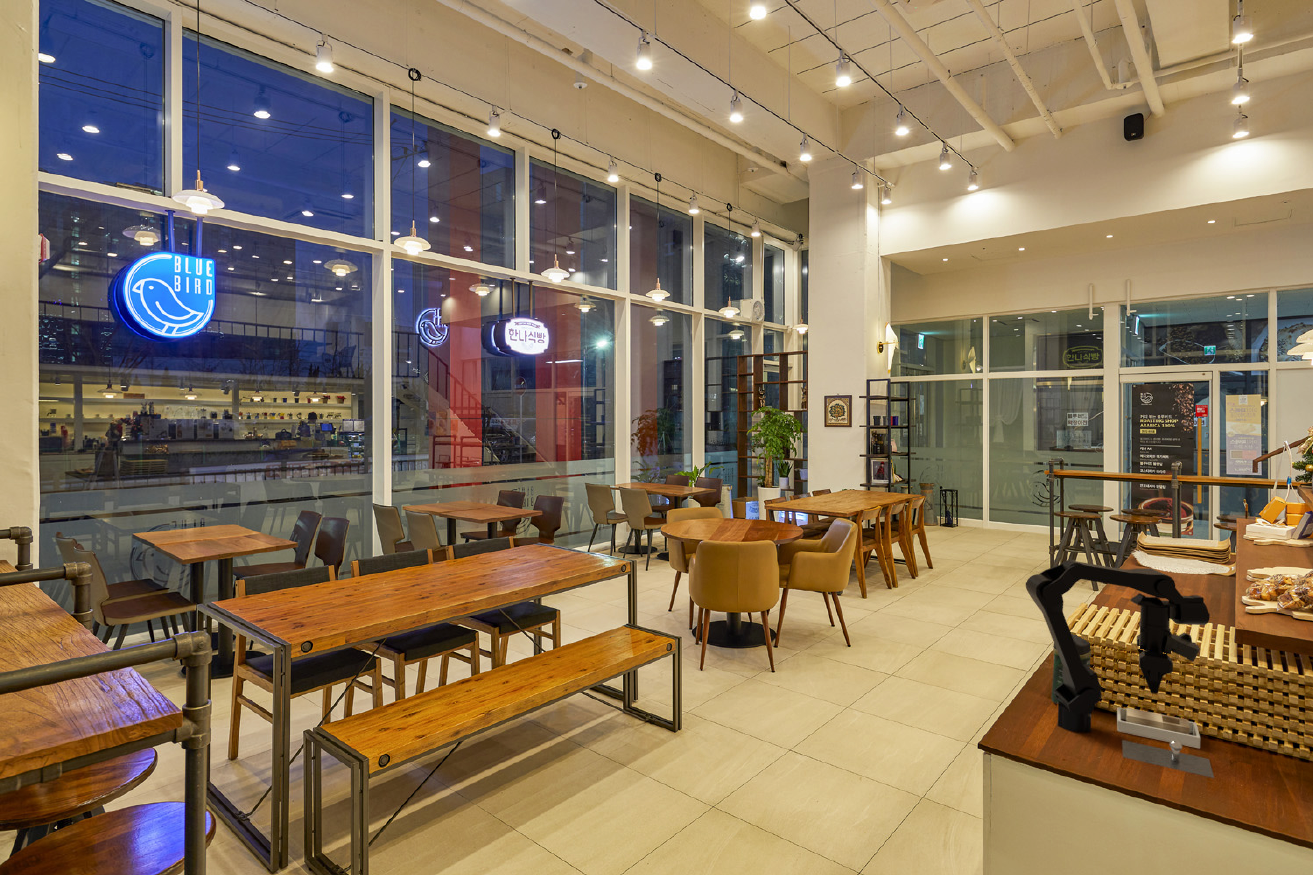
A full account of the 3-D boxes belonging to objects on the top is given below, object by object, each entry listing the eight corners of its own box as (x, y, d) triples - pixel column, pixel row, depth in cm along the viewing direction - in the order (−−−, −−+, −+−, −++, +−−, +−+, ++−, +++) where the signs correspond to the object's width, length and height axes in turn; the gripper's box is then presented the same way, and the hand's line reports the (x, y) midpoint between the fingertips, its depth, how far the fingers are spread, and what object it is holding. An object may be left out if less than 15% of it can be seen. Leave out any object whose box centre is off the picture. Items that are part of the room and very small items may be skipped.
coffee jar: (1080, 714, 176) (1081, 643, 175) (1047, 703, 182) (1048, 635, 181) (1094, 703, 182) (1096, 635, 181) (1062, 693, 188) (1063, 627, 187)
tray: (1117, 734, 165) (1117, 720, 165) (1116, 720, 172) (1117, 707, 172) (1199, 752, 156) (1200, 737, 156) (1195, 736, 164) (1196, 722, 164)
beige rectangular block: (1126, 731, 166) (1127, 715, 165) (1126, 723, 170) (1126, 707, 170) (1189, 744, 159) (1189, 727, 159) (1186, 735, 163) (1187, 719, 163)
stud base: (1122, 761, 153) (1123, 737, 153) (1121, 744, 161) (1122, 721, 160) (1214, 782, 144) (1215, 757, 144) (1208, 763, 152) (1209, 739, 152)
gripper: (1202, 640, 151) (1199, 709, 152) (1193, 617, 167) (1191, 680, 168) (1140, 631, 157) (1138, 697, 158) (1137, 610, 173) (1135, 670, 174)
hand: (1152, 686), depth 164 cm, fingers open, 9 cm apart
